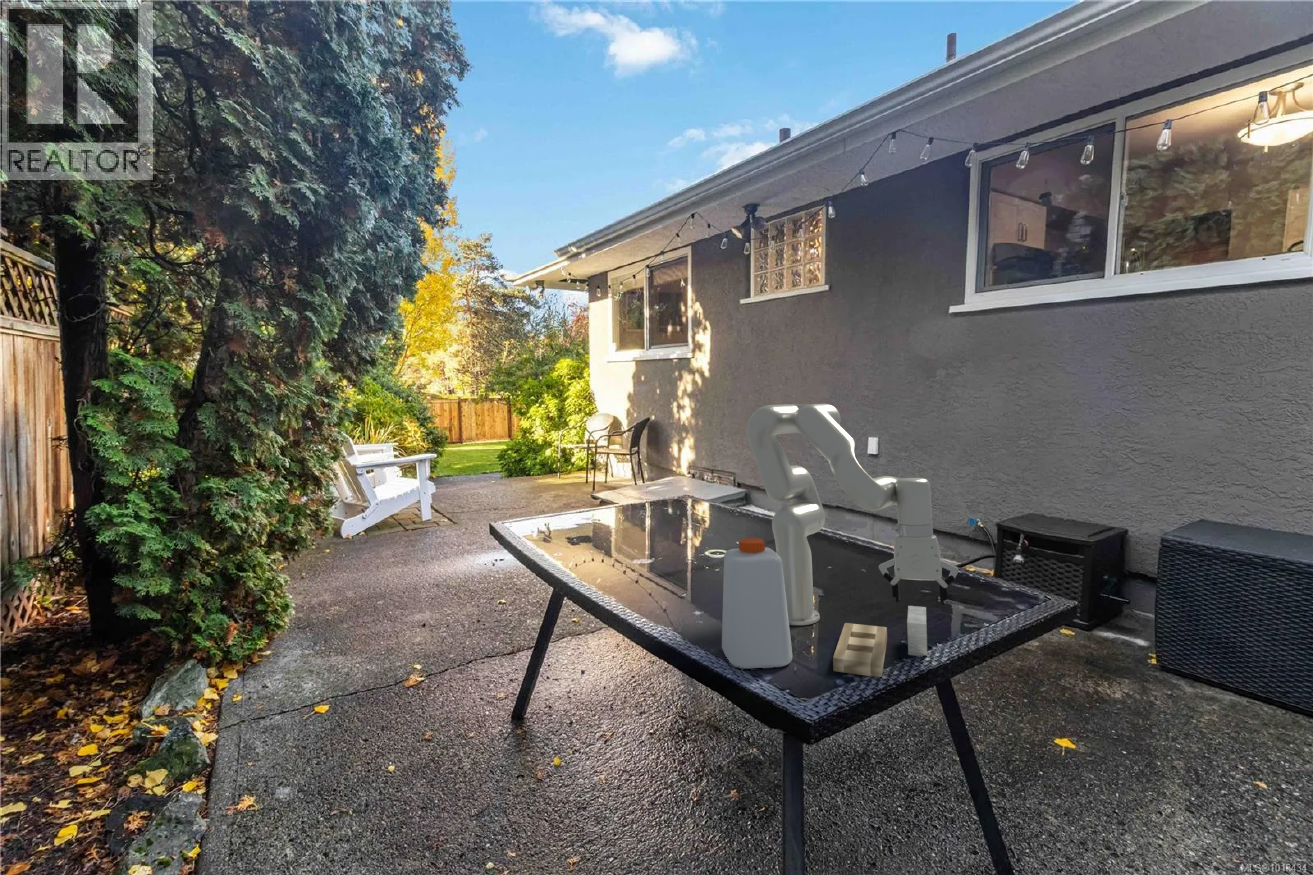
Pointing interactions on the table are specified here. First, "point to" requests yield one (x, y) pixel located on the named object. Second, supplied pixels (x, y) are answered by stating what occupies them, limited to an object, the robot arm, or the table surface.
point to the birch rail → (861, 650)
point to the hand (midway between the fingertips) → (919, 601)
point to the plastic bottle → (755, 607)
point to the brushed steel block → (917, 631)
